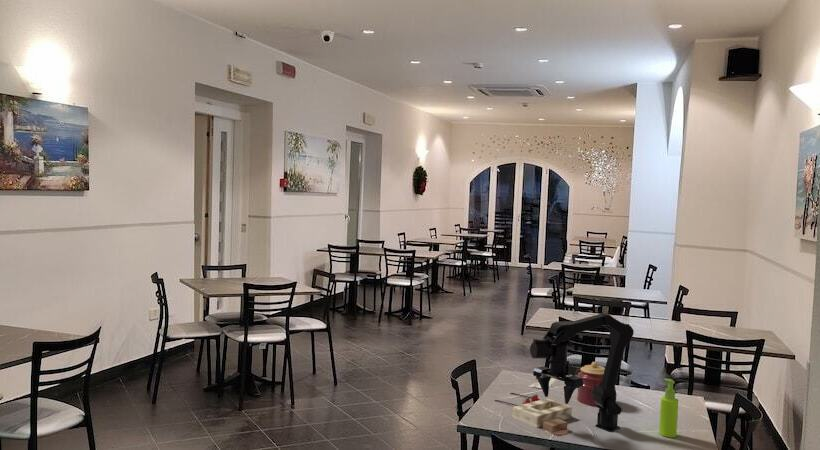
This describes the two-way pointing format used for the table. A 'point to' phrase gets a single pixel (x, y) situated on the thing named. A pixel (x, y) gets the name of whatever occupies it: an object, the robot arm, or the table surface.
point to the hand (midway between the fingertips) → (556, 400)
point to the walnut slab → (554, 425)
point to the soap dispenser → (669, 412)
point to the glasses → (533, 399)
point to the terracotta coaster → (559, 432)
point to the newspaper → (551, 383)
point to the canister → (589, 382)
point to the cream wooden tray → (541, 412)
